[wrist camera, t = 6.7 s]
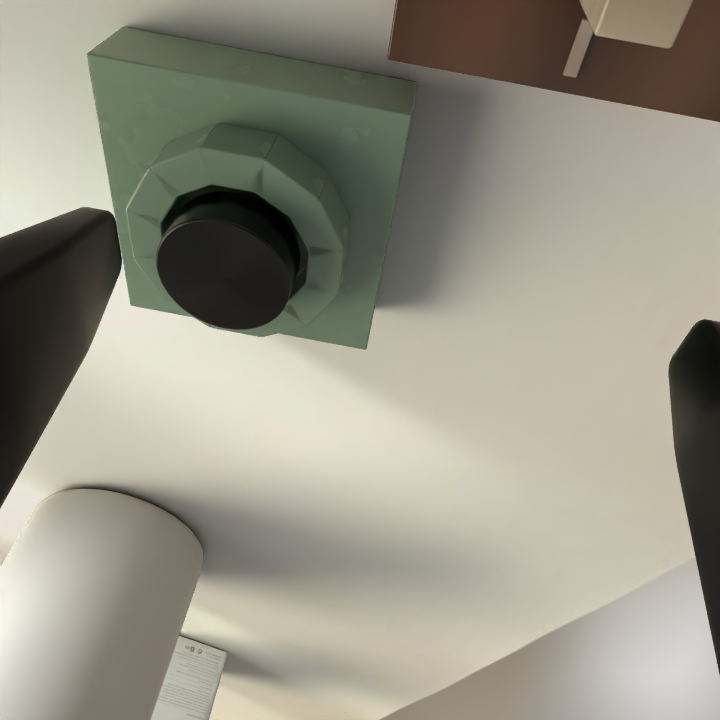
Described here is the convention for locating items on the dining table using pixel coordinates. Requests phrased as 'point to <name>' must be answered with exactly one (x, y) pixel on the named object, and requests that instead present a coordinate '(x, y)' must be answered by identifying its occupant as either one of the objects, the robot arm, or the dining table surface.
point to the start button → (229, 260)
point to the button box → (255, 164)
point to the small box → (190, 682)
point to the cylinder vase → (93, 607)
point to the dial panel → (564, 51)
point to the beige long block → (637, 19)
